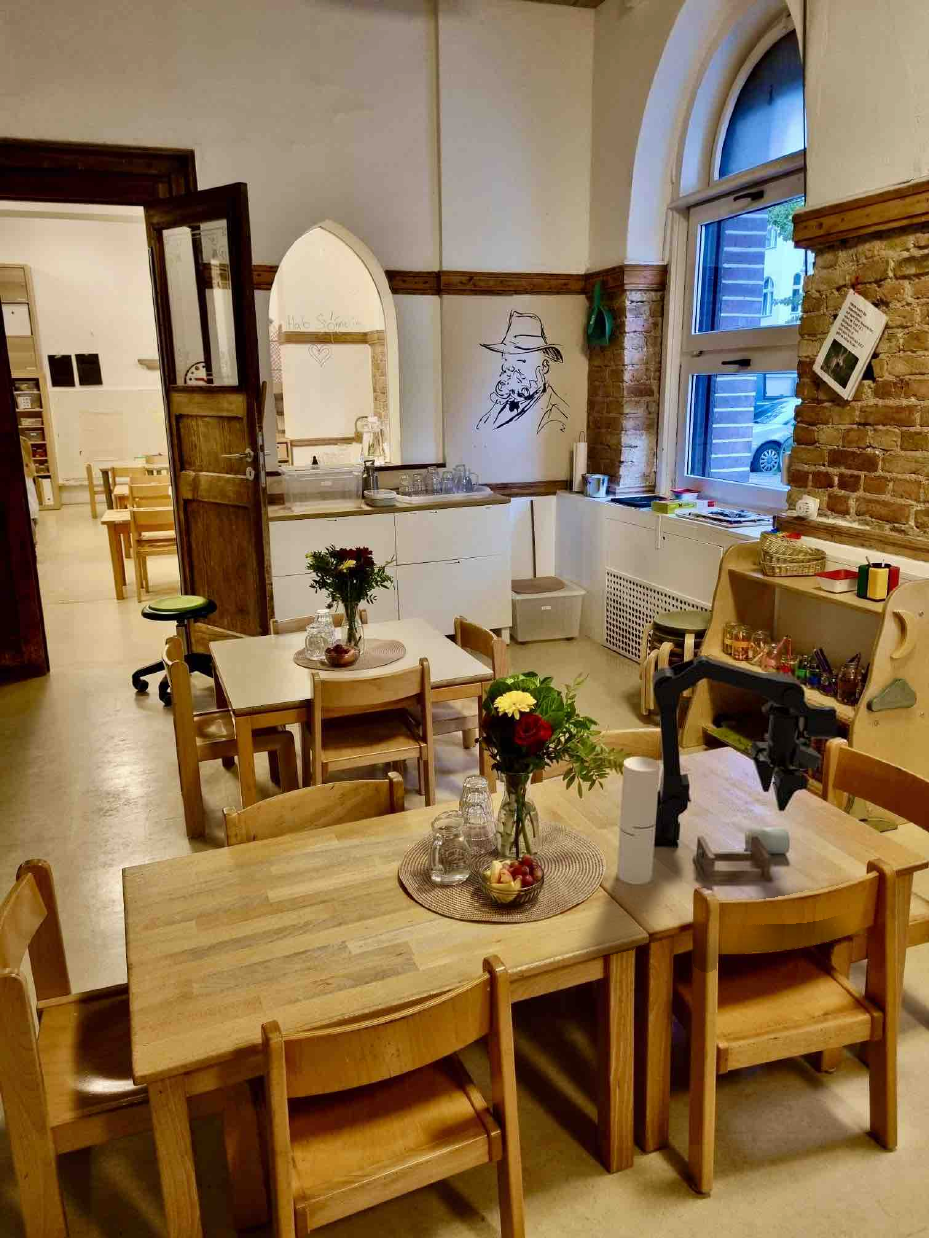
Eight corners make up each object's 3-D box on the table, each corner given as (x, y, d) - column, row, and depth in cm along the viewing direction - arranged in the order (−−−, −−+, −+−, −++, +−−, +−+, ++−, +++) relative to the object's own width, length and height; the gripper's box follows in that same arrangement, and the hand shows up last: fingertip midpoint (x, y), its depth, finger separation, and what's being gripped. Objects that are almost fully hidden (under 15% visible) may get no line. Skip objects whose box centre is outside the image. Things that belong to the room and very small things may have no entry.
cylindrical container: (651, 886, 187) (659, 772, 180) (616, 881, 188) (623, 769, 182) (651, 868, 193) (659, 758, 187) (617, 864, 195) (624, 755, 188)
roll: (750, 857, 198) (752, 834, 197) (742, 846, 204) (744, 823, 202) (789, 857, 198) (792, 834, 197) (780, 846, 204) (783, 823, 203)
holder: (702, 881, 189) (704, 857, 187) (691, 859, 197) (693, 836, 196) (773, 881, 189) (776, 857, 187) (759, 859, 198) (761, 836, 196)
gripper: (838, 752, 187) (827, 821, 191) (802, 718, 205) (793, 783, 209) (784, 751, 186) (775, 820, 190) (753, 717, 204) (745, 782, 208)
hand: (773, 800), depth 199 cm, fingers open, 9 cm apart
